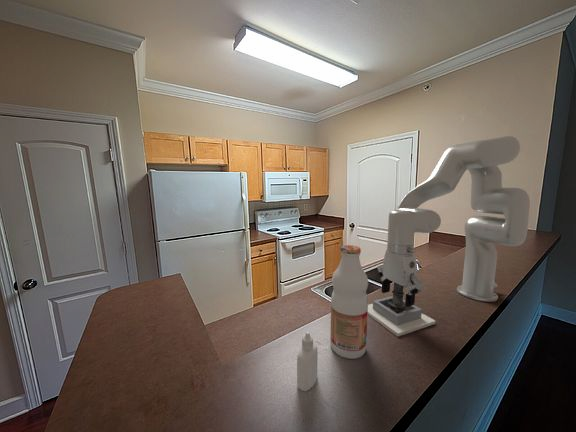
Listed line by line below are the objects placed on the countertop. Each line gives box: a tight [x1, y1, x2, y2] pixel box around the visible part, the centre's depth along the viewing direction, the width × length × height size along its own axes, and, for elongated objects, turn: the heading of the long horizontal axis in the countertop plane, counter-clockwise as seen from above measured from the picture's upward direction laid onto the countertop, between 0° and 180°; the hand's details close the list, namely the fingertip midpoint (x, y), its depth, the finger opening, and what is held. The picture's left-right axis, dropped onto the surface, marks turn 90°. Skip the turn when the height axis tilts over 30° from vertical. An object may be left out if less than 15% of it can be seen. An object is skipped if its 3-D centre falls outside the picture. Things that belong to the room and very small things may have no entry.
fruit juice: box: [329, 244, 369, 360], centre depth 60 cm, size 9×9×28 cm
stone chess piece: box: [388, 282, 407, 314], centre depth 75 cm, size 6×6×12 cm
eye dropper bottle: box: [296, 331, 318, 392], centre depth 50 cm, size 4×6×12 cm
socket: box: [367, 295, 436, 337], centre depth 76 cm, size 16×16×4 cm
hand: (396, 298), depth 75 cm, fingers open, 9 cm apart
